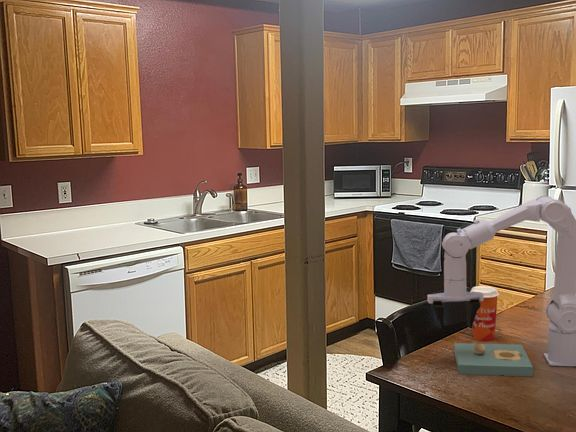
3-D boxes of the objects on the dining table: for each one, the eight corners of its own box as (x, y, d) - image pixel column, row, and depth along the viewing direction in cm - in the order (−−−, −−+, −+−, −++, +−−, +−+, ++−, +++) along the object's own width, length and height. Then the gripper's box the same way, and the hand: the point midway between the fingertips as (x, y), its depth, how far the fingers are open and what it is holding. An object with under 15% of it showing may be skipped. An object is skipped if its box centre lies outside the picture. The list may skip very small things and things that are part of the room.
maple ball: (484, 352, 166) (484, 341, 165) (486, 356, 163) (486, 345, 162) (473, 351, 166) (473, 341, 166) (474, 356, 163) (474, 345, 163)
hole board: (521, 353, 170) (521, 344, 170) (532, 376, 155) (532, 367, 154) (454, 351, 174) (454, 343, 173) (458, 374, 158) (458, 364, 158)
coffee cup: (468, 341, 181) (468, 291, 179) (471, 332, 189) (470, 284, 187) (498, 343, 178) (498, 293, 176) (499, 334, 186) (500, 286, 184)
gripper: (477, 273, 167) (477, 321, 169) (424, 275, 167) (425, 324, 169) (486, 279, 160) (486, 329, 162) (430, 282, 160) (431, 332, 162)
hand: (455, 327), depth 165 cm, fingers open, 7 cm apart
